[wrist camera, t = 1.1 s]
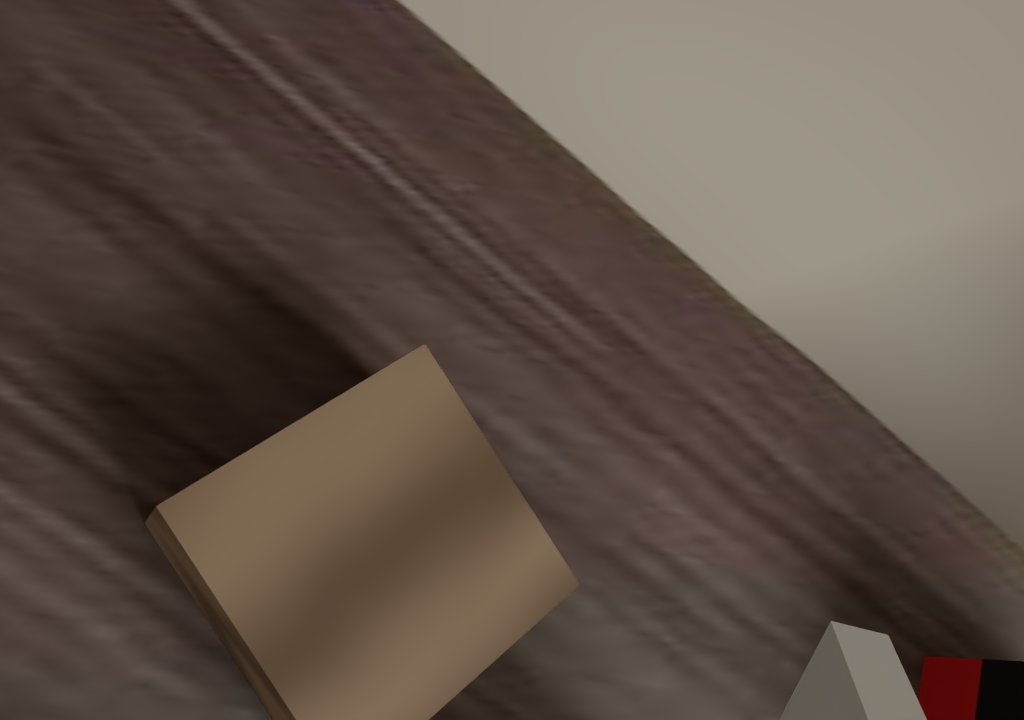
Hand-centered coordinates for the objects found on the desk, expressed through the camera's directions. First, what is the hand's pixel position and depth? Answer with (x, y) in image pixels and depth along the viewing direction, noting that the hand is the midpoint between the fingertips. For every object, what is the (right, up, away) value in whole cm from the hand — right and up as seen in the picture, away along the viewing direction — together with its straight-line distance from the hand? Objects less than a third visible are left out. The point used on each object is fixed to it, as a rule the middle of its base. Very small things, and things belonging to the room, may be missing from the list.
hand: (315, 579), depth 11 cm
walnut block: (-4, -5, +21) cm, 22 cm away
